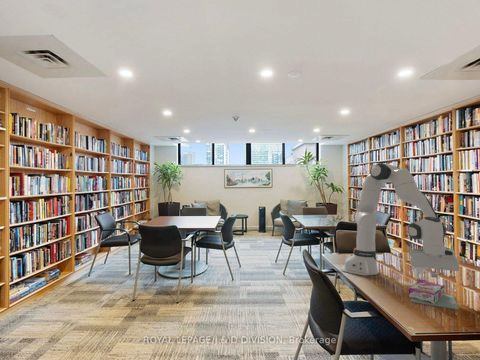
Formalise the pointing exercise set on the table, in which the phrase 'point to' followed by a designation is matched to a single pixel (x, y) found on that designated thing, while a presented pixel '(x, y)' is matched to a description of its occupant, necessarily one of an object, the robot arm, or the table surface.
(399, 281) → the table surface
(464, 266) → the table surface
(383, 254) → the table surface
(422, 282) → the candy bar box
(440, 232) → the robot arm
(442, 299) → the desk pad
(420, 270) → the white figurine
